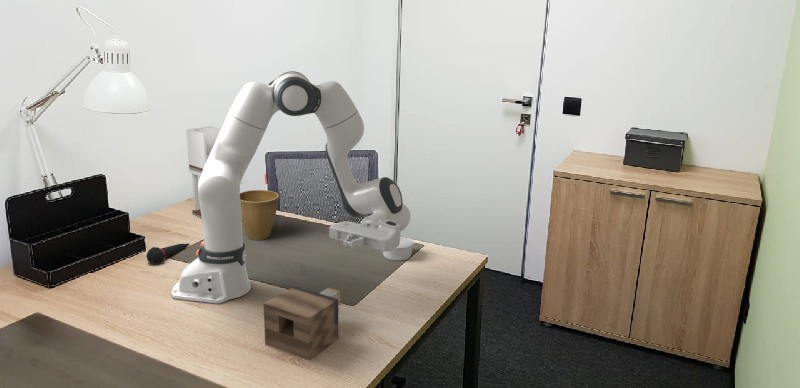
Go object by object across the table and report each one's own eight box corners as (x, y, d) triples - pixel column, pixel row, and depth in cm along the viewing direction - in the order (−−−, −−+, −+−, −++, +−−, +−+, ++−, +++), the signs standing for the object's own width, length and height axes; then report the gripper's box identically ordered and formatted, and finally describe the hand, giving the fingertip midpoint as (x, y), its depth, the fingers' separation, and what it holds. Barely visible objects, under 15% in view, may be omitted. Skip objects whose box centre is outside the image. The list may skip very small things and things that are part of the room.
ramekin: (412, 250, 220) (413, 236, 218) (414, 262, 209) (414, 248, 207) (381, 249, 219) (381, 235, 218) (381, 262, 208) (381, 247, 207)
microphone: (184, 253, 219) (145, 267, 201) (180, 237, 219) (140, 250, 200) (197, 250, 218) (158, 264, 199) (192, 235, 217) (154, 247, 198)
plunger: (308, 326, 155) (307, 311, 154) (295, 321, 157) (295, 307, 156) (340, 304, 167) (340, 291, 165) (328, 301, 168) (328, 287, 167)
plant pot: (233, 243, 221) (230, 200, 217) (245, 229, 235) (243, 188, 231) (274, 245, 221) (272, 202, 216) (283, 230, 235) (282, 190, 230)
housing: (309, 360, 149) (308, 318, 146) (265, 344, 156) (263, 303, 152) (338, 339, 159) (338, 299, 156) (295, 324, 166) (294, 286, 162)
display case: (192, 215, 249) (186, 129, 239) (215, 209, 257) (210, 126, 247) (208, 221, 242) (203, 133, 232) (231, 215, 250) (227, 130, 240)
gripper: (345, 213, 184) (316, 226, 172) (404, 226, 174) (378, 240, 163) (345, 233, 186) (316, 247, 174) (404, 247, 176) (378, 263, 165)
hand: (347, 244), depth 168 cm, fingers closed
